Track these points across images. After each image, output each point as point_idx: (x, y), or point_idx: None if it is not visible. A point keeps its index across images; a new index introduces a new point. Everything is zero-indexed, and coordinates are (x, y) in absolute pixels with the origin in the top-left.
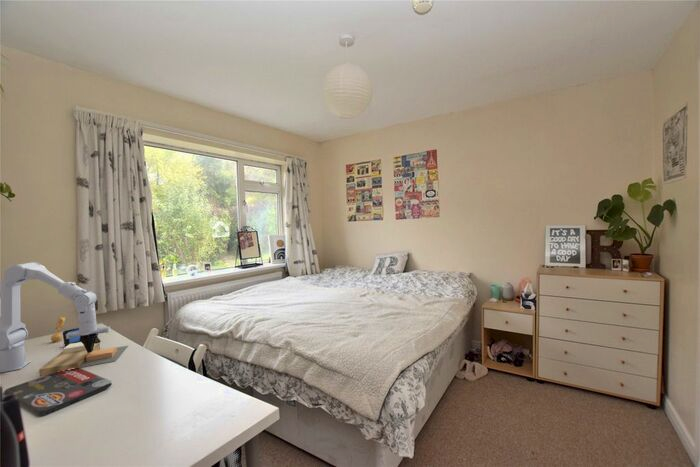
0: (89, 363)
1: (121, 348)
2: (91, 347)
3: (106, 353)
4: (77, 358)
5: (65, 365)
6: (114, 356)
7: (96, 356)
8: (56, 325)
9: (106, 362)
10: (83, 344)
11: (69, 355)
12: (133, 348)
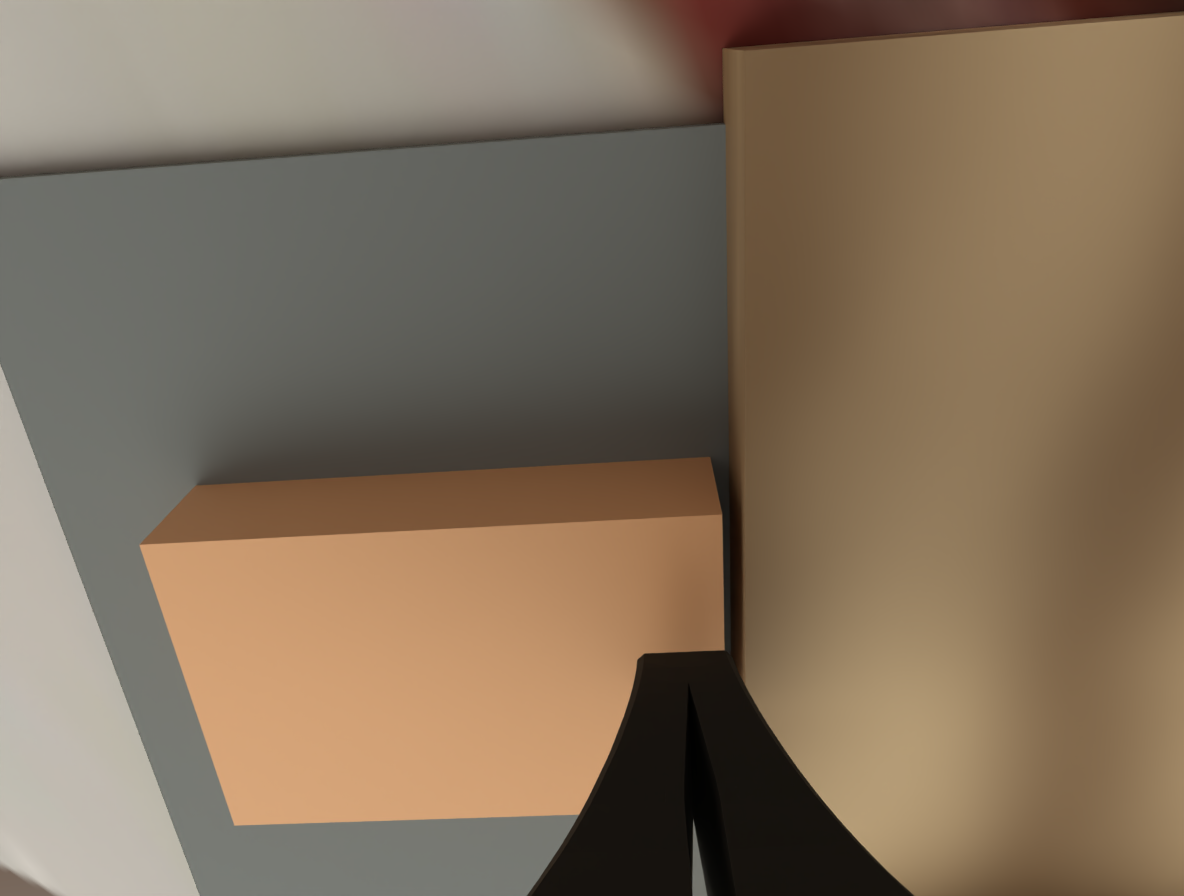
0: (564, 274)
1: (264, 853)
2: (615, 741)
3: (263, 536)
4: (896, 451)
5: (1087, 23)
6: (148, 483)
7: (491, 506)
8: None
9: (136, 170)
10: (848, 834)
11: (1167, 742)
12: (24, 787)
